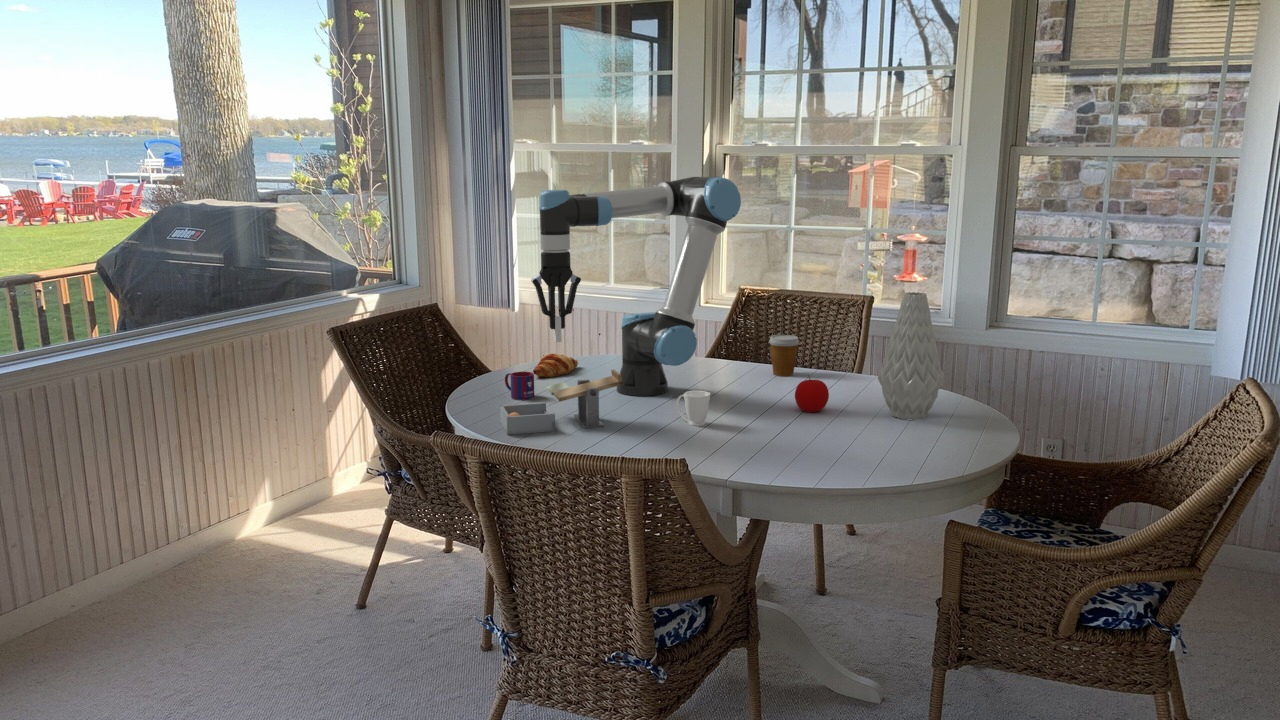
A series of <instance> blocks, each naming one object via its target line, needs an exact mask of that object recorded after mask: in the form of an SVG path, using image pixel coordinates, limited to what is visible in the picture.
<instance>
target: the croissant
mask: <svg viewBox="0 0 1280 720" xmlns="http://www.w3.org/2000/svg"><path fill="white" fill-rule="evenodd" d="M578 365H579V361H578V359H575V358H573V357H569V356H567V355H564V354H558V353H549V354H546V355H545V356H543V357H541V359H540V360H539V362H538V363H537V365H536V366H535V367H534V369H532V373H534V376H537V377H543V378H553V377H559V375H560V376H563V375H567V374H569V373H571V372H572V371H574V369H576V368H577V367H578Z"/></svg>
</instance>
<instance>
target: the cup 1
mask: <svg viewBox="0 0 1280 720" xmlns="http://www.w3.org/2000/svg"><path fill="white" fill-rule="evenodd" d="M509 376H510V385H509V380H508V379H509ZM504 384H505V386H506V388H507V390H509V391H510V398H511V399H512V400H518V401H520V400H521V401H523V400H524V401H525V400H532V399H533V398H535V374H534V372H533V371H515V372H511V373H506V374H505V377H504Z"/></svg>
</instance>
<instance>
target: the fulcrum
mask: <svg viewBox="0 0 1280 720" xmlns="http://www.w3.org/2000/svg"><path fill="white" fill-rule="evenodd" d="M588 382H591V381H590V379H578V380H577V385H580V384H584V383H588ZM599 393H600V391H599V388H586V395H583V396H579V397H577V413H576V414H573V418H574V419H575V420H576V421H577V422H578V423H579V424H580V425H581V427H582V428H583V429H593V428H594V429H595V428H605V427H604V426H605V425H604V424H603V423H602V422H601V420H600V397H599V396H600V394H599Z"/></svg>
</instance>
